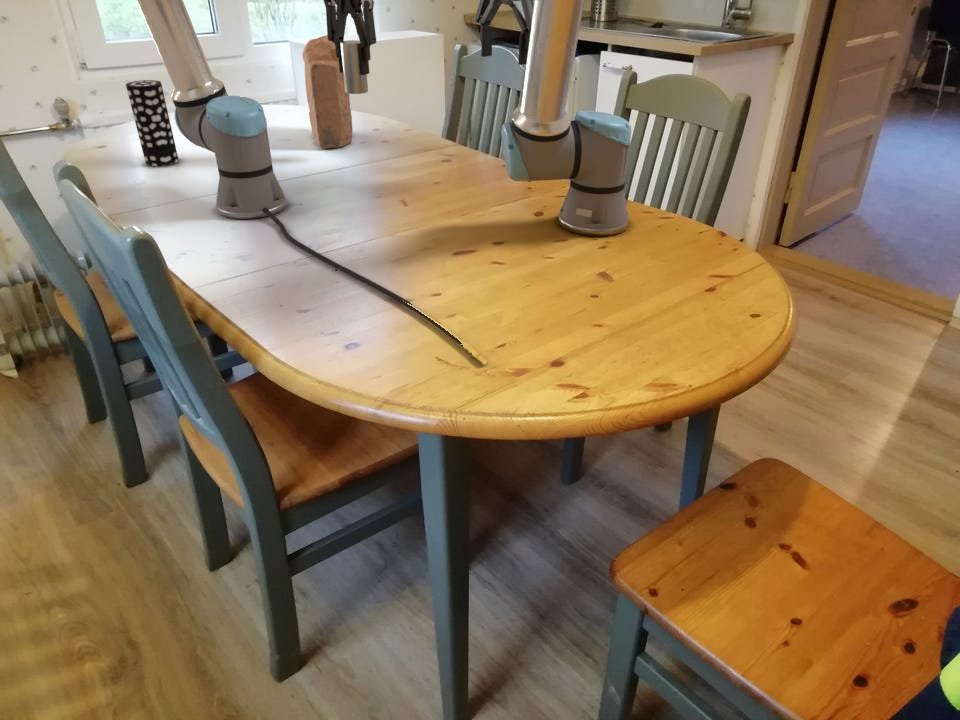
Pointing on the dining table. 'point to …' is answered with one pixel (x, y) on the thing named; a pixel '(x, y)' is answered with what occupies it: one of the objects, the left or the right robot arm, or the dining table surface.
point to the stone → (326, 95)
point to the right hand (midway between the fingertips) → (504, 60)
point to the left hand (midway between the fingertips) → (354, 72)
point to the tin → (353, 68)
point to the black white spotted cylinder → (152, 122)
